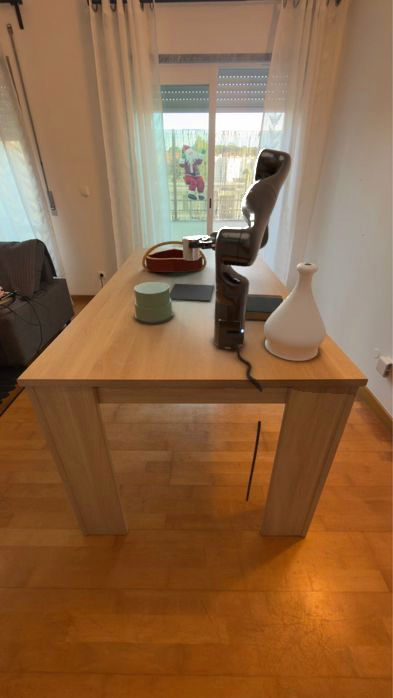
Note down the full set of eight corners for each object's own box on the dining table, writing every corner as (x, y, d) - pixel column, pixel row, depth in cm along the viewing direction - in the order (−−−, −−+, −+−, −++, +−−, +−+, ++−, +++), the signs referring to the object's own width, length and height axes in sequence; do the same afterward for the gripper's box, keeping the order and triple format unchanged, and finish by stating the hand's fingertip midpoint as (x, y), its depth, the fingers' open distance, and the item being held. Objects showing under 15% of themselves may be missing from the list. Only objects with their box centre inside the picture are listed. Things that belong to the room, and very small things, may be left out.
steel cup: (192, 261, 112) (192, 240, 108) (179, 258, 116) (179, 238, 111) (202, 258, 117) (202, 237, 112) (190, 255, 120) (189, 235, 116)
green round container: (168, 325, 98) (166, 295, 92) (129, 323, 99) (125, 293, 93) (176, 309, 109) (175, 281, 103) (141, 307, 111) (138, 279, 105)
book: (215, 318, 103) (285, 322, 100) (215, 309, 101) (287, 313, 98) (218, 299, 117) (280, 302, 114) (219, 291, 115) (281, 294, 112)
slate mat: (209, 301, 115) (209, 300, 115) (166, 299, 118) (166, 298, 117) (213, 286, 131) (213, 285, 130) (175, 284, 133) (175, 283, 132)
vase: (255, 333, 93) (265, 256, 80) (307, 331, 94) (325, 254, 81) (271, 364, 78) (286, 275, 65) (331, 361, 79) (359, 273, 66)
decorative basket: (206, 266, 165) (206, 239, 159) (206, 274, 138) (206, 242, 132) (148, 267, 166) (146, 240, 160) (138, 275, 139) (134, 243, 133)
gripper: (215, 227, 121) (179, 230, 116) (231, 233, 110) (191, 237, 105) (215, 245, 125) (179, 249, 120) (230, 253, 114) (192, 257, 109)
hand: (185, 243), depth 112 cm, fingers closed on steel cup, 6 cm apart
